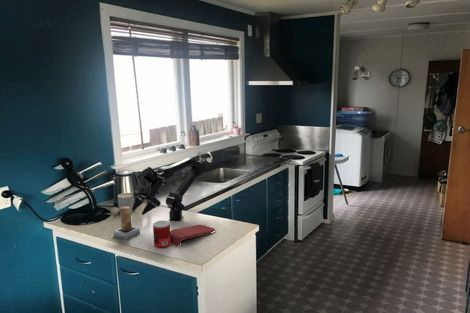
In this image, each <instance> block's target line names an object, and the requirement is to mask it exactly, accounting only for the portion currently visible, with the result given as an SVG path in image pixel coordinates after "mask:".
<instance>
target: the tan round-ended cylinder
mask: <svg viewBox="0 0 470 313" xmlns="http://www.w3.org/2000/svg"><path fill="white" fill-rule="evenodd" d="M119 213H120V226H121V227H120V228H122V232H125V233H127V232H130V231H132V227H133V225H132V213H131V208H130V207H128V206H125V207H121V208H120V212H119Z"/></svg>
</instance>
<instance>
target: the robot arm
mask: <svg viewBox="0 0 470 313" xmlns="http://www.w3.org/2000/svg"><path fill="white" fill-rule="evenodd" d="M188 167H190V169H189V170H190V171H189V174H187V176H186V177H185V178H184V180H183V181H182V182H181V184H180V185H179V186H178V188H177V189H176V190H175V191H174V192H173V191H170V192H169V193H168V195H167V196H166V198H165V204H166V206H167V208H168V209H169V212H168V215H169V222H170V221H172V222H173V221H174V222H181V221H182V220H183V219H184V216H183V211H184V210H185V205H184V204H183V203H182V202H183V200H184V199H183V197H184V195H185V194H186V193H187V191H188V190H189V188H190V187H191V186H192V184H194V182H195V181H196V179H197V178H198V177H200V176H202V175H203V174H204V173H205V172H206V170H207V164H205V163H204V162H201V161H199V160H196V159H195V158H193V157H186V158H184V159H182V160H180V161H178V162H175V163H173V164H171V165H165V166H160V167H158V168H157V169H155V170H154V169H153V168H152V167H151V166H147V168H144V169H143V170H142V171H141V173H140V177H141V178H142V179H143V180H144V181H145V182H147V183H149V185H144V186H142V185H136V187H135V191H134V192H132V193H133V195H134V196H133V197H134V199H135V201H134V204H133V208H132V210H133V211H134V210H135V209H137V208H139V207H140V206H141V205H142V204H143V203H144V201H146V205H145V206H144V208H143V210H142V212H141V215H142V216H144V215H145V214H147V213H148V212H150V211H152V210H154V209H157V208H159V207H160V206H161V201H160V200H159V199H158V198H157V197H156V195H159V191H160V189H161V188H162V187H163V186H167V180H168V179H170V178H172V177H173V176H174V175H175V173H176V172H179V171H181V170H183V169H185V168H188ZM134 212H135V211H134ZM181 219H182V220H181Z"/></svg>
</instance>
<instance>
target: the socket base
mask: <svg viewBox="0 0 470 313" xmlns="http://www.w3.org/2000/svg"><path fill="white" fill-rule="evenodd" d="M140 231H141V230H140V227H136V226H132V231H130V232H127V233H125V232H122V228H121V227H118V229H115V230H113V237H114V238H119V239H120V240H121V239H122V240H126V241H127V240H130V239H132V238H134V237H136V236H138V235H140V234H141V232H140Z"/></svg>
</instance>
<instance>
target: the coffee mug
mask: <svg viewBox="0 0 470 313" xmlns="http://www.w3.org/2000/svg"><path fill="white" fill-rule="evenodd" d="M133 193H134V192H123V193H120V194H118V195H117V204H118V205H117V206H118V213H120V208H121V207H125V206H128V207H130V208H131V214H132V213H134V212H136V209H135V210H134V211H133V210H132V208H133V204H134V201H135V199H134V197H133V196H134V195H133Z"/></svg>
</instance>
